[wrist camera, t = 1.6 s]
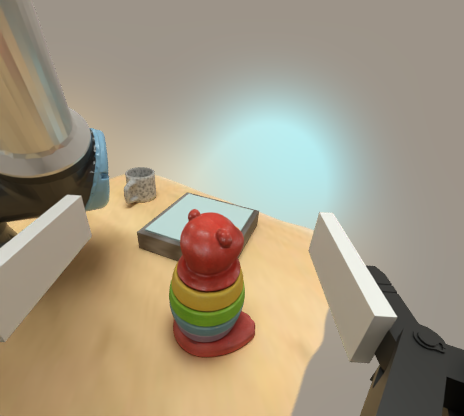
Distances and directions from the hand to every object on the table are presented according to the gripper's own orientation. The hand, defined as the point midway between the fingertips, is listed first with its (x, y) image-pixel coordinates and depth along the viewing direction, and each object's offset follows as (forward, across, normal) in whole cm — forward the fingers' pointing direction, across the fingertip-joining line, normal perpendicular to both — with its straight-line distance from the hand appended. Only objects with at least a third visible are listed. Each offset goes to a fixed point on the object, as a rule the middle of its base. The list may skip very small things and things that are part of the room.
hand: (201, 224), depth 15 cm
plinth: (+31, -3, -24) cm, 39 cm away
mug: (+44, -21, -24) cm, 54 cm away
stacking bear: (+11, 0, -24) cm, 26 cm away
